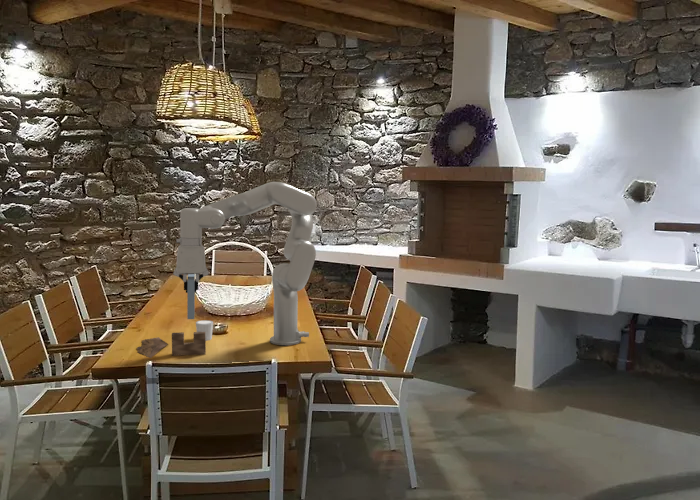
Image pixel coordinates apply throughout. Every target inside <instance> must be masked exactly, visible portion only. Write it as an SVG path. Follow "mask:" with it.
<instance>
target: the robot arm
mask: <svg viewBox="0 0 700 500" xmlns="http://www.w3.org/2000/svg"><path fill="white" fill-rule="evenodd" d="M273 205H279V206H281V207H284V208H286V209H287V211H288V212H289V214H290V217H291V227H290V229H289V233H288V236H287V239H286V241H285V244H284V247H283V255H284V257H285V259H287V260H288V261H289V263H284V262H283V263H279V264H278V265H276V266H275V267H274V268H273V270H272V274H271V282H272V290H273V335H272V336H271V337H269V343H271V344H273V345H275V346H277V345H278V346H294V345H297V344H300V343H301V342H302V338H309V337H310V332H309V331H303V330H302V331H299V328H298V314H299V313H298V309H299V308H298V304H299V303H298V301H299V299H298V298H299V297H298V292H300V291H302V290H303V289H304V288H305V286H306V285H307V283H308V281H309V278H310V276H311V272H312V270H313V267H314V264H315V260H316V256H317V254H316V253H317V252H316V247H315V245H314V244H313V243H312V242H311V241H310V240H311V236H312V233H313V229H314V219H313V214H314V213H315V212H316V210H317V206H318V202H317V199H316V198H315V197H314V196H313V195H312V194H310V193H308V192H306V191H304V190H301V189H298V188H296V187H294V186H292V185H290V184H288V183H286V182H281V181H270V182H267V183H265V184H262V185H259V186H257V187H254V188H252V189H250V190H247V191H245V192H241V193H239V194H235V195H232V196H229V197H226V198H224V199H220V200H218V201H216V202H213V203H210V204H207V205H205V206H203V207H201V208H196V207H186V208H182V209H181V210H180V214H179V215H180V226H179V228H180V233H179V234H180V235H179V236H180V237H179V238H176V239H175V240H176V242H175V243H178V244H179V245H178V247H177V252H176V266H175V269H174V271H173V273H172V275H174V276H176V277H177V278H179V279H181V280H182V282H183V290H184V291H185V293H187V281H188V274H195V293H197V291H198V290H199V281H201V280H202V279H203V278H204V277H206V276H208V275H210V272H209V270H208V268H207V266H206V252H205V246H204V245H203V244H202V243H203V242H202V239H203V238H202V237H203V235H202V234H203V230H202V229H213V230H214V229H219V228H221V227H222V226H223V225H224V224H225V220H226V219H230V218H233V217H240V216H242V217H243V216H247V215H248V216H249V215H251V214H254V213H256V212H258V211H261V210H263V209H266V208H269V207H271V206H273Z"/></svg>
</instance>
